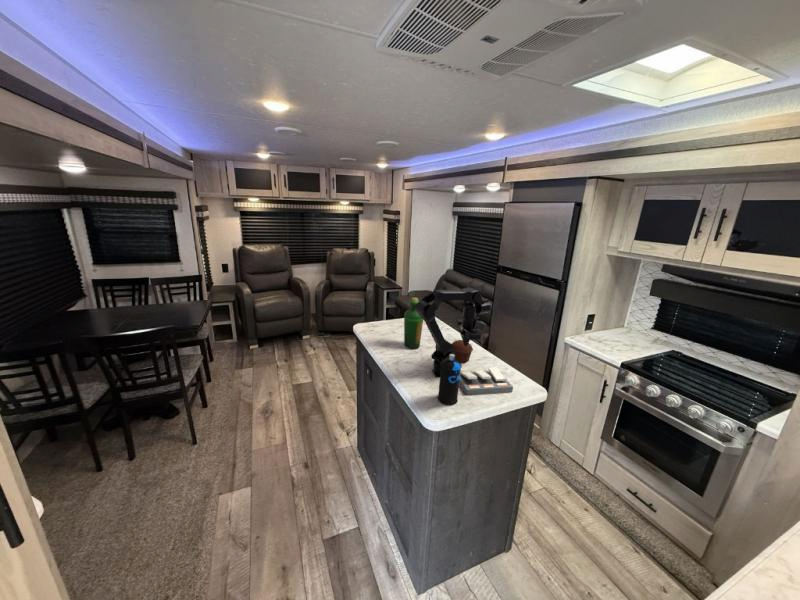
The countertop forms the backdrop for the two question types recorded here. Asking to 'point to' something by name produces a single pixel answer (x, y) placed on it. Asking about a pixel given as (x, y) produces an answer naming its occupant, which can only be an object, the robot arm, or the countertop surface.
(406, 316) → the bottle
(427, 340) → the countertop surface
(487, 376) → the rocker
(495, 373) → the rocker
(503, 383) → the switch unit
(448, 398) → the aerosol can
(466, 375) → the rocker
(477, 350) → the countertop surface
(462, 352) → the muffin
